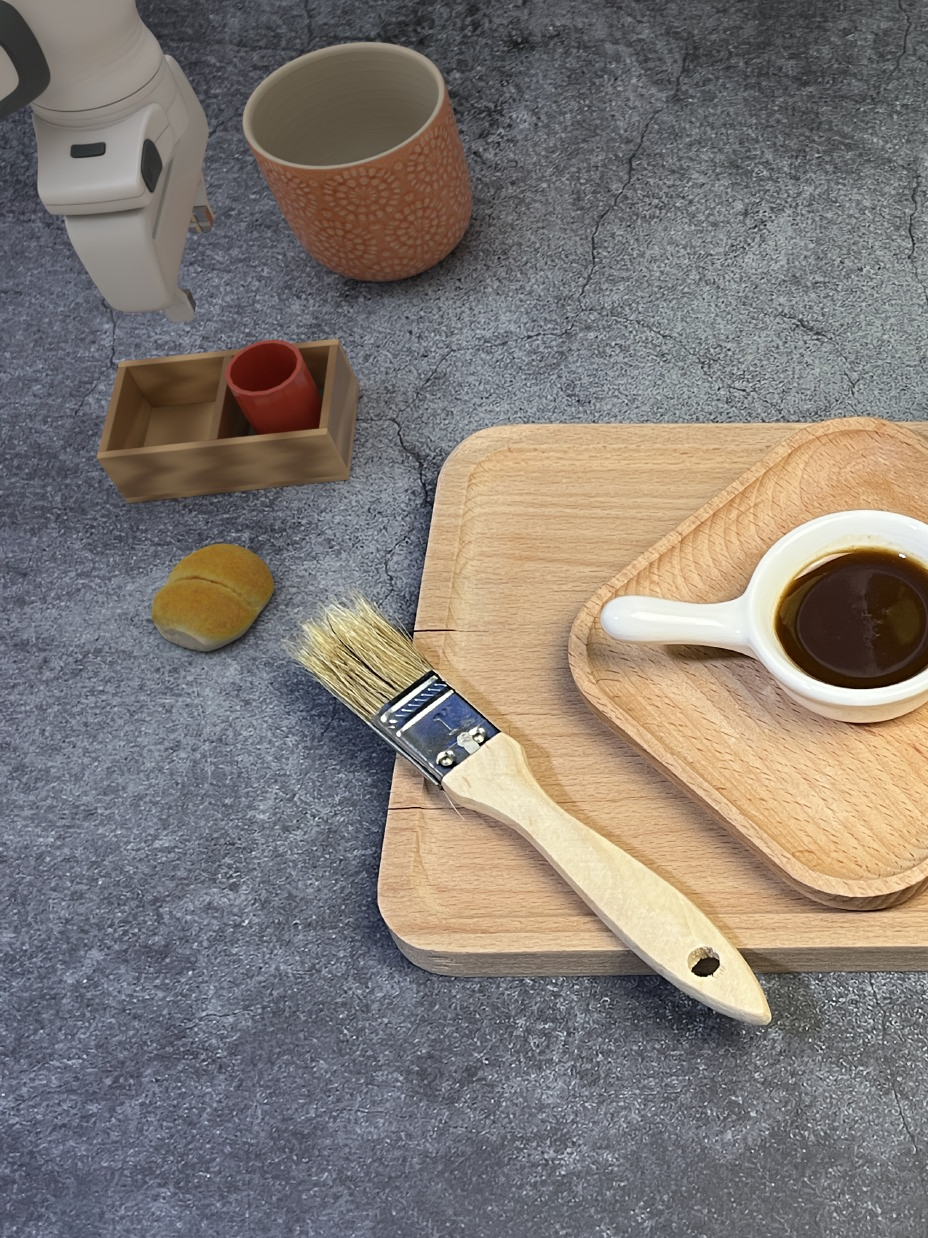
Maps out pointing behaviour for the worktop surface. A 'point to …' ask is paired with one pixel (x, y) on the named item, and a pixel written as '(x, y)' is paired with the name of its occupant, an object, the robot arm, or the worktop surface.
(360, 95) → the planter
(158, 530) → the worktop surface
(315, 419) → the cup
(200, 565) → the bread roll
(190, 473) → the caddy
